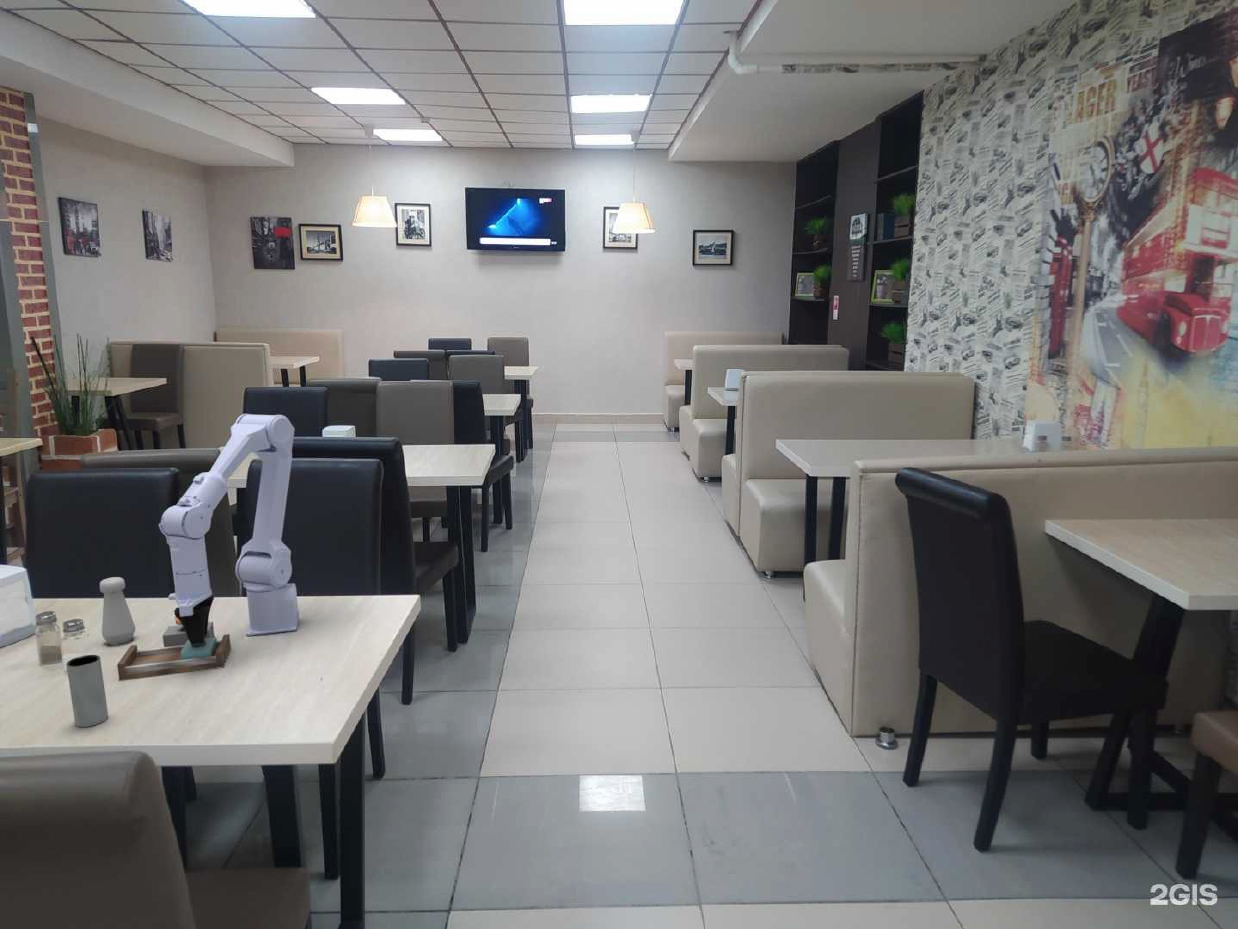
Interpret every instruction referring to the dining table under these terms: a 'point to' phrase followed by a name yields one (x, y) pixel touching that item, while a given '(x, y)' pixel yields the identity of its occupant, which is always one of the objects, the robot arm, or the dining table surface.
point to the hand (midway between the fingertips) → (198, 639)
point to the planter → (87, 690)
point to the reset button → (178, 622)
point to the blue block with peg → (199, 649)
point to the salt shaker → (116, 613)
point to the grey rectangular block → (182, 635)
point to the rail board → (168, 660)
